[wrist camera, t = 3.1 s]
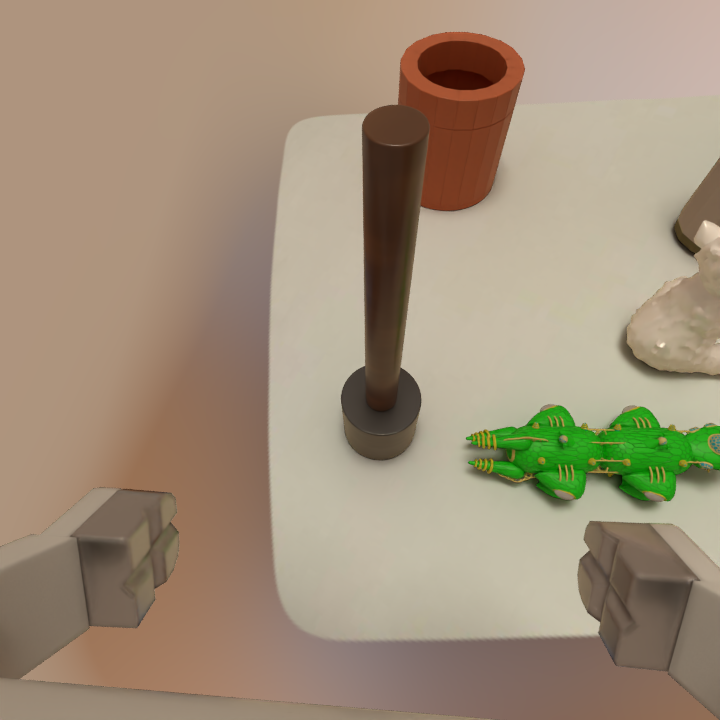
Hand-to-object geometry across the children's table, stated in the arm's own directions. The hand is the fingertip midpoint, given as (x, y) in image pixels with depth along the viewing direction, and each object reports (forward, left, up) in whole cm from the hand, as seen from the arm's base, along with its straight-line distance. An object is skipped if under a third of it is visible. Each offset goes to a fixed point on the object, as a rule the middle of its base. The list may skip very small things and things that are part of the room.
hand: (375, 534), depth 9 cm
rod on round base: (-3, +11, -23) cm, 25 cm away
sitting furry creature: (+17, +25, -23) cm, 38 cm away
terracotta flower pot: (-5, +39, -23) cm, 45 cm away
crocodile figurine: (+12, +13, -23) cm, 29 cm away
